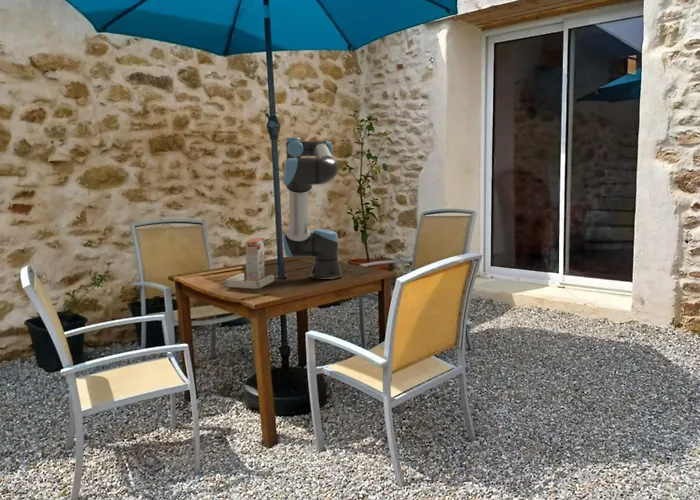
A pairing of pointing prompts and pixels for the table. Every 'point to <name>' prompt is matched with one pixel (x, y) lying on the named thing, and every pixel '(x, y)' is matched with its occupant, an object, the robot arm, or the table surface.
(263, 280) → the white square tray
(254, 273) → the cracker box
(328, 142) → the robot arm
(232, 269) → the table surface
